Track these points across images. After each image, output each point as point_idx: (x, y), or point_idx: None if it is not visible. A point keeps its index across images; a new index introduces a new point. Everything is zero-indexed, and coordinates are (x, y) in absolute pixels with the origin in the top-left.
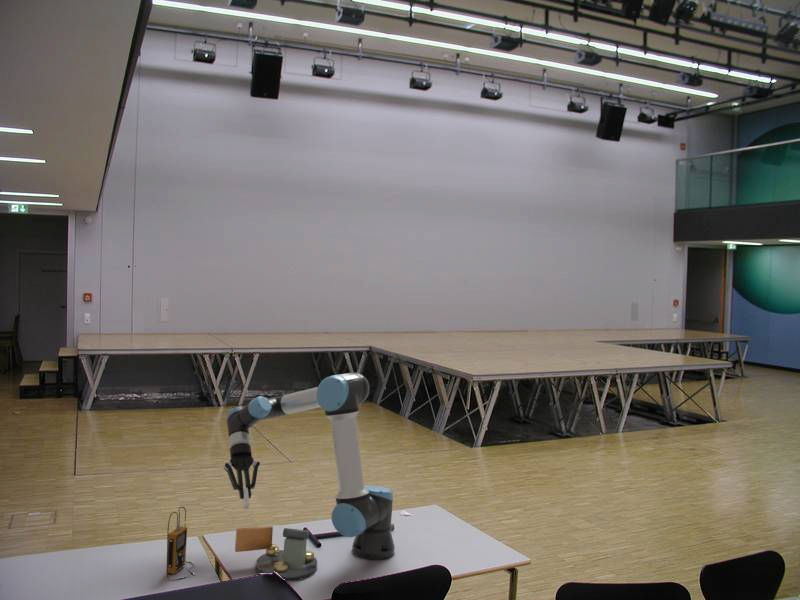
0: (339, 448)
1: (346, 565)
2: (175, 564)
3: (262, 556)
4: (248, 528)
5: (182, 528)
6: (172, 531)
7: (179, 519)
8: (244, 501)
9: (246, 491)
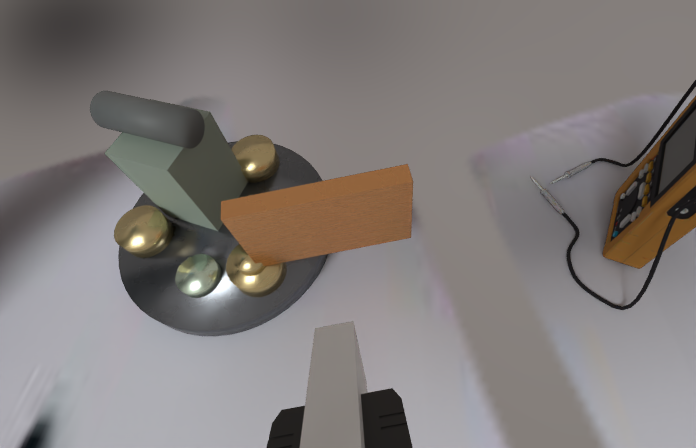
0: None
1: (46, 240)
2: (632, 176)
3: (300, 270)
4: (346, 188)
5: None
6: None
7: None
8: (358, 359)
9: (323, 423)
